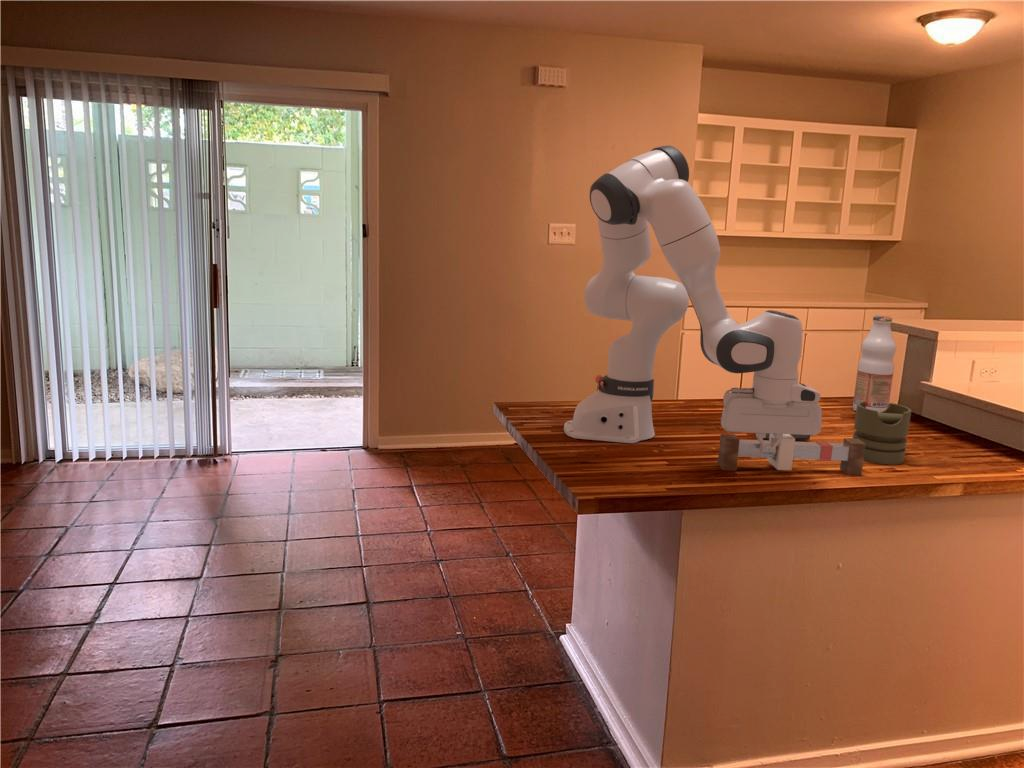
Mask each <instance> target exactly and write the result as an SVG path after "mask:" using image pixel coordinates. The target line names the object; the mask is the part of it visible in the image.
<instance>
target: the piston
mask: <svg viewBox="0 0 1024 768" xmlns="http://www.w3.org/2000/svg"><path fill="white" fill-rule="evenodd" d="M911 415H912V409H911V408H909V407H908V406H906V405H902V404H897V403H893V402H889V406H888V408H887V409H886V410H884V411H882V412H879V413H878V411H875V410H871V409H867V408H866V406H865V401H863V402H859V403H857V409H856V412H855V418H854V426H853V428H854V430H855V431H854V432H852V439H859V440H860V441H862V442H863V443H865V444H866V446H865V454H864V461H863V462H866V461H867V463H870V462H871V464H876V463H878V464H877V465H885V464H888V465H887V466H889V465H891V466H893V465H894V466H895V465H902V464H903V463H904V462H905V455H906V447H907V443H908V442H907V441H908V439H907V438H906V437H907V436H908V434H909V428H910V422H911V417H912V416H911Z"/></svg>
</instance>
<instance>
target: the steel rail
mask: <svg viewBox="0 0 1024 768" xmlns="http://www.w3.org/2000/svg"><path fill="white" fill-rule="evenodd" d="M763 440H764V439H763ZM771 442H772V441H769V440H768V439H765V440H764V443H765V444H770V443H771ZM777 450H778V445H777V446H776V452H775V454H768V453H761V452H760V443H759V441H758V439H740V441H739V451H738V458H741V457H742V458H761V459H762V458H764V459H765V458H766V459H767V458H777ZM849 453H850V447H849V446H848V445H846V444H845V443H843V442H828V441H814V442H813V441H795V445H794V453H793V460H794V459H795V460H815V461H817V460H818V461H823V462H825V461H826V462H832V461H841V460H843V461H848V460H849Z"/></svg>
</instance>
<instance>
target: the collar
mask: <svg viewBox="0 0 1024 768" xmlns="http://www.w3.org/2000/svg"><path fill="white" fill-rule="evenodd" d="M774 438H775V437H774V436H773V434H772V433H770V436H769V439H768V441H773V439H774ZM795 442H796V440H795V438H794V437H792V436H791V435H790V434H783V438H782V440H781V441H780V443H779V444H778V450H777V458H766V461H767V462H768V463H770V465H771V466H773V468H775V469H776V470H777V471H792V470H793V468H792V467H793V463H794V462H793V460H794V459H793V453H794V445H795Z"/></svg>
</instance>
